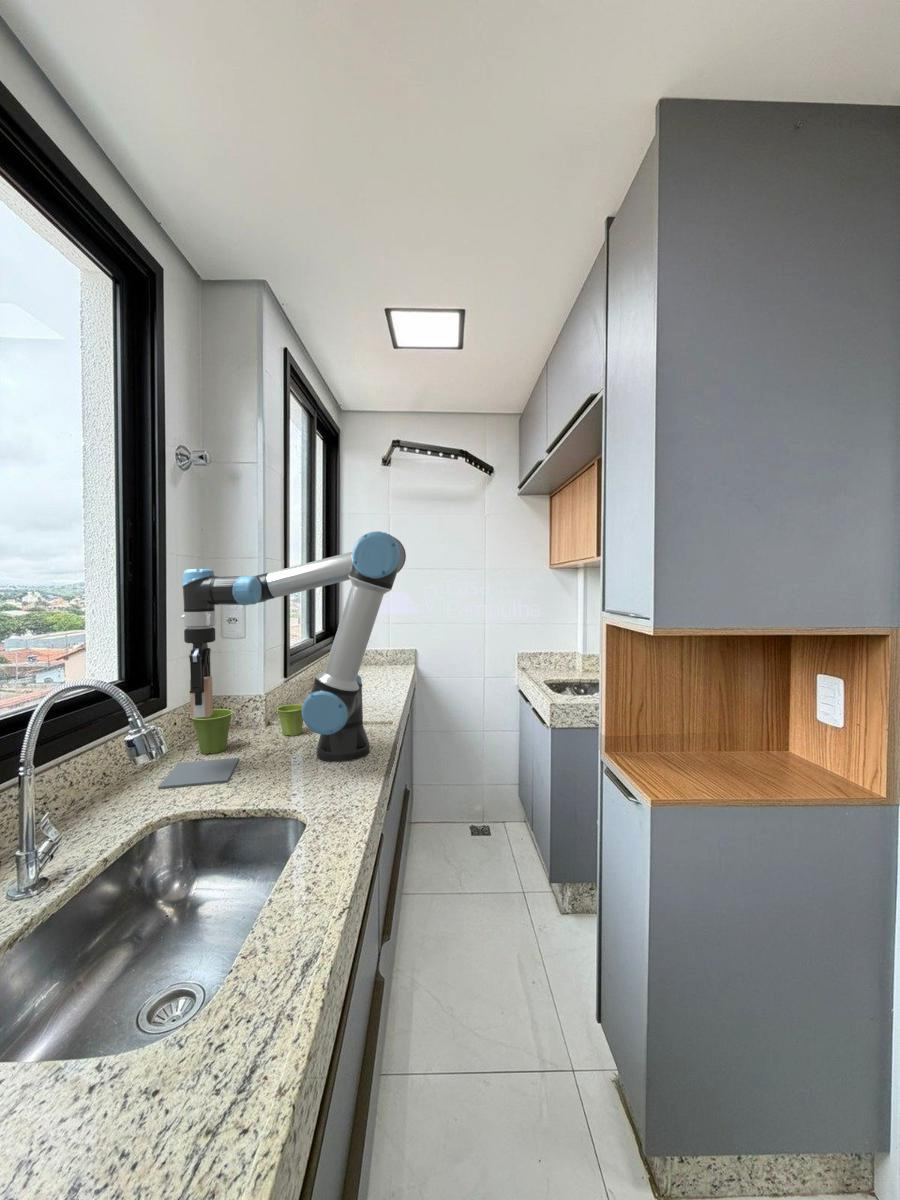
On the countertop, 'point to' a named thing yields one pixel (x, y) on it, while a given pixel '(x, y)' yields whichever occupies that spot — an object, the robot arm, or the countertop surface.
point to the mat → (200, 773)
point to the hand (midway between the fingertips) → (201, 714)
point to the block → (207, 697)
